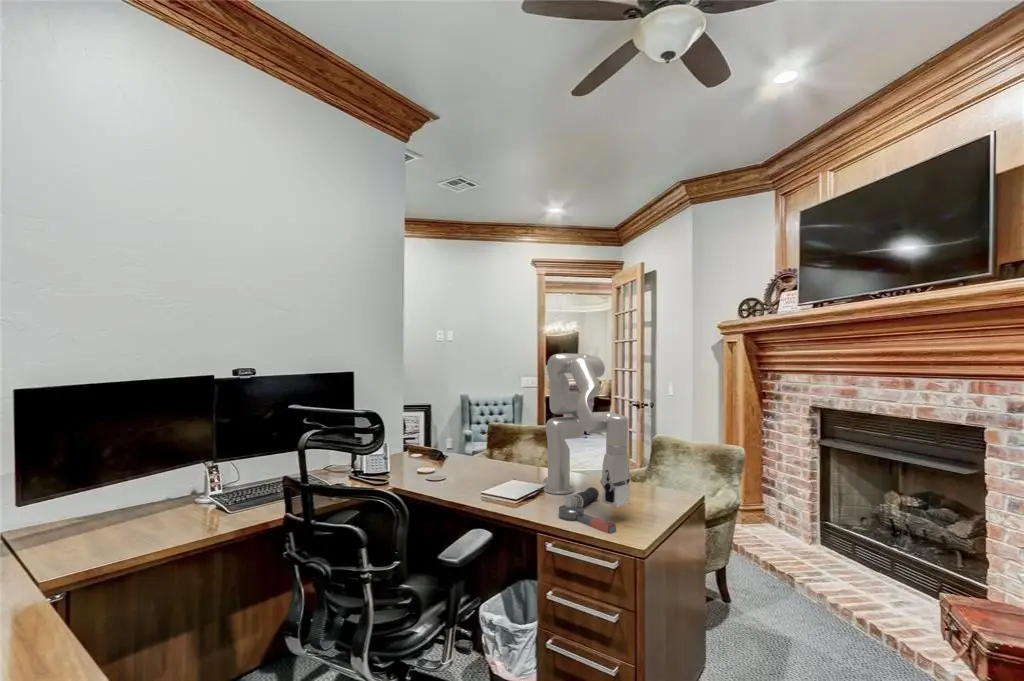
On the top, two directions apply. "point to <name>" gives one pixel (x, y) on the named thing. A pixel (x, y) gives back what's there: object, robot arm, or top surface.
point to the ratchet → (583, 516)
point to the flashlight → (586, 496)
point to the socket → (619, 494)
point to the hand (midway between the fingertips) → (615, 499)
